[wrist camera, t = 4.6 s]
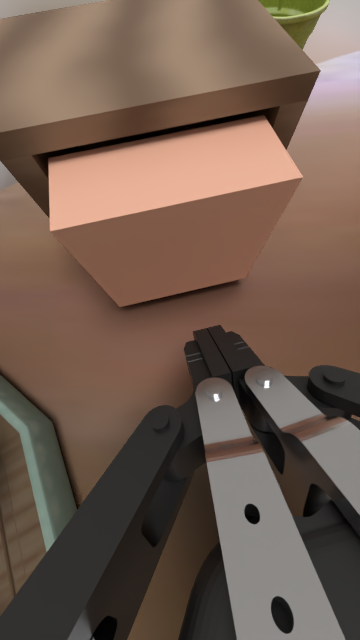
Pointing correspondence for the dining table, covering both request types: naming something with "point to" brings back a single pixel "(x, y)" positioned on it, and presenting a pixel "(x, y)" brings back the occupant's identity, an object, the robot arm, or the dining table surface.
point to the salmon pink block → (172, 207)
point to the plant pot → (296, 16)
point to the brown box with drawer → (140, 77)
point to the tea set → (28, 490)
